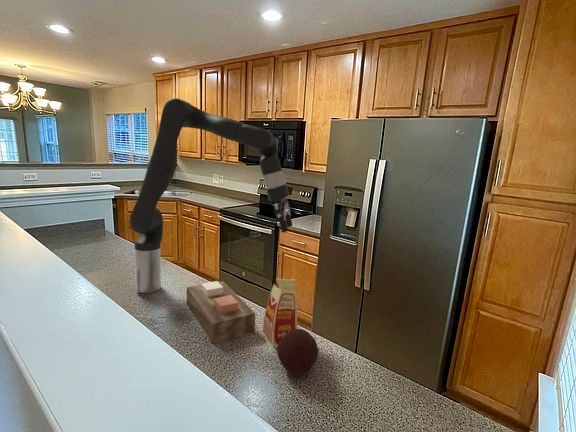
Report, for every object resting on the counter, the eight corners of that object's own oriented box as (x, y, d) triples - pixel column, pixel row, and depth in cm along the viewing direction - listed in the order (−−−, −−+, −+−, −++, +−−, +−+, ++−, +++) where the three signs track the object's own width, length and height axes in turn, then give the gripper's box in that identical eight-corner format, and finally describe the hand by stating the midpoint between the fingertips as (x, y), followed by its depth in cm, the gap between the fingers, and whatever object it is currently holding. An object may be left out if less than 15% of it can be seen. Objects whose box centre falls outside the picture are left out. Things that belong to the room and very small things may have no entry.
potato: (314, 354, 91) (317, 321, 89) (319, 387, 78) (323, 350, 76) (276, 352, 91) (278, 320, 89) (275, 385, 78) (277, 348, 76)
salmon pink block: (220, 318, 98) (220, 306, 97) (213, 309, 103) (213, 298, 102) (237, 313, 101) (238, 302, 101) (230, 306, 106) (231, 295, 106)
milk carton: (273, 348, 93) (277, 285, 89) (261, 332, 101) (264, 273, 97) (299, 341, 97) (304, 281, 94) (286, 326, 105) (290, 270, 102)
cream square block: (206, 300, 109) (206, 290, 108) (201, 293, 114) (201, 283, 113) (223, 297, 112) (223, 287, 111) (217, 291, 117) (217, 281, 116)
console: (212, 343, 93) (212, 323, 92) (186, 303, 116) (186, 287, 115) (254, 331, 101) (255, 313, 100) (222, 296, 124) (222, 281, 123)
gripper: (270, 186, 119) (282, 227, 121) (260, 190, 105) (273, 236, 107) (289, 181, 117) (300, 222, 119) (281, 184, 104) (294, 231, 106)
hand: (287, 229), depth 113 cm, fingers open, 8 cm apart
